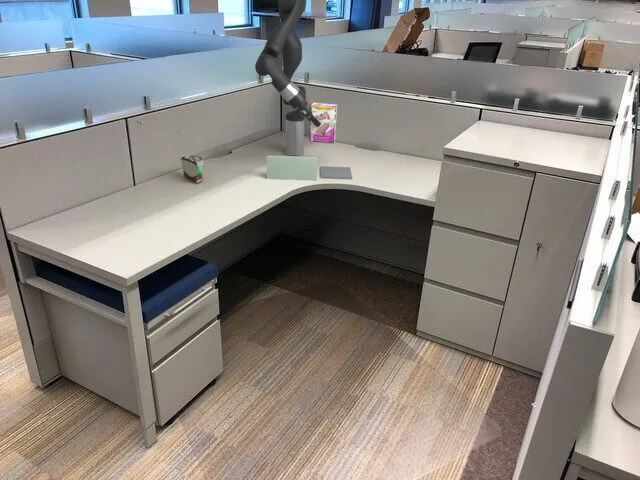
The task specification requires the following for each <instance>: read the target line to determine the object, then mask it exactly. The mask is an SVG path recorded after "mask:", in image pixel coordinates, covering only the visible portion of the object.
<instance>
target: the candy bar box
mask: <svg viewBox="0 0 640 480" xmlns="http://www.w3.org/2000/svg"><path fill="white" fill-rule="evenodd" d="M310 106H311V111H312V112H313V115H314V116H315V118H316V119H317V120H318V121H319V122H320V123H321V125H320V126H319V127H316V125H315V124H314V123H313V122H311V121H309V122H310V123H309V142H311V143H313V142H314V143H322V144H335V141H336V130H337V129H336V126H337V115H338V114H337V113H338V104H332V103H321V102H312V103H311V105H310Z"/></svg>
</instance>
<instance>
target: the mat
mask: <svg viewBox="0 0 640 480" xmlns="http://www.w3.org/2000/svg"><path fill="white" fill-rule="evenodd" d="M320 179H332V180H336V179H337V180H353V175H352V171H351V167H349V166H327V165H326V166H325V165H321V166H320Z"/></svg>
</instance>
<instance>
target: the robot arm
mask: <svg viewBox="0 0 640 480" xmlns="http://www.w3.org/2000/svg"><path fill="white" fill-rule="evenodd" d="M277 6H278V14H279V24H278V25H277V26H275V27H273V30H272V31H271V32H270V34H269V35H268V38H267V40H266V43H265V45H264V47H263V49H262V51H261V52H260V54H259V56H258V57H257V60H256V62H255V65H254V69H255V72H256V74H258V76H261V77H266V76H269V77H270V78H271V85H272V86H273V87H274V88H275V89H276V91H277V92H279V94H280V96H281V97H282V101H283V103H284V105H286V106H290V107H292V108H293V110H292V111H288V112H287V113H286V115H285V149H284V150H285V151H284V152H285V154H286V155H288V156H296V157H300V156H301V155H304V152H305V151H304V147H305V145H304V144H305V118H306V119H307V120H308V122H310V121H311V122H313V123H314V124H315V125H316V127H319V126H320V125H321V123H320V122H319V121H318V120H317V119H316V118H315V116H314V115H313V112H312V111H311V105H310V104H309V103H308V101H306V99H307V92H306V91H307V89H306V88H305V86H302V85H297V84H295V83H294V82H293V81H292V78H293V76H294V74H295V72H296V71H297V69H299V66H300V65H301V63H302V61H303V44H302V41H301V39H300V37H299V36H298V34H297V31H296V30H295V26H296V25H297V24H298V22H299V20H300V19H301V17H302V16H303V14H304V12H305V10H306V6H307V0H277ZM280 54H281V59H282V67H281V65H280V63H279V62H278V61H277V58H278V57H279V56H280Z"/></svg>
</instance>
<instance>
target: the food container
mask: <svg viewBox="0 0 640 480" xmlns="http://www.w3.org/2000/svg"><path fill="white" fill-rule="evenodd" d="M180 160H181V166H182V172H183V178H184V180H187V181H189V182H192V183H193V184H195V185H199V184H201V183H202V182H203V165H204V164H205V162H204V159H203V157H202V156H201V155H197V154H183V155H180Z"/></svg>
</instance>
